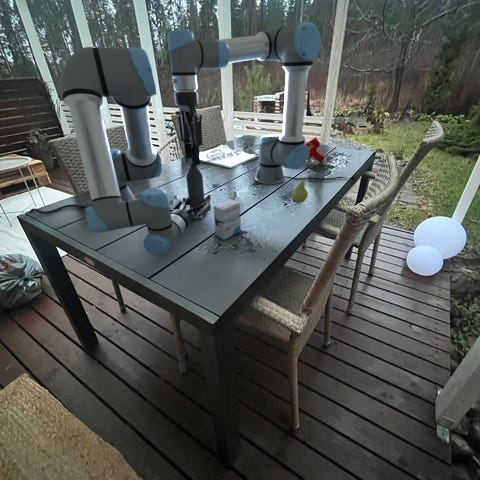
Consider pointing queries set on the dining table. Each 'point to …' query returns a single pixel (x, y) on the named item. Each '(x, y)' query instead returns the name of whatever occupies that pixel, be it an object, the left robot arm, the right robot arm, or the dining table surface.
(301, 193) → the fruit
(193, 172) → the bottle
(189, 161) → the cap
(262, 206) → the dining table surface
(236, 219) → the ink box
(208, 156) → the relief map
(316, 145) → the toy gun
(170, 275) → the dining table surface
